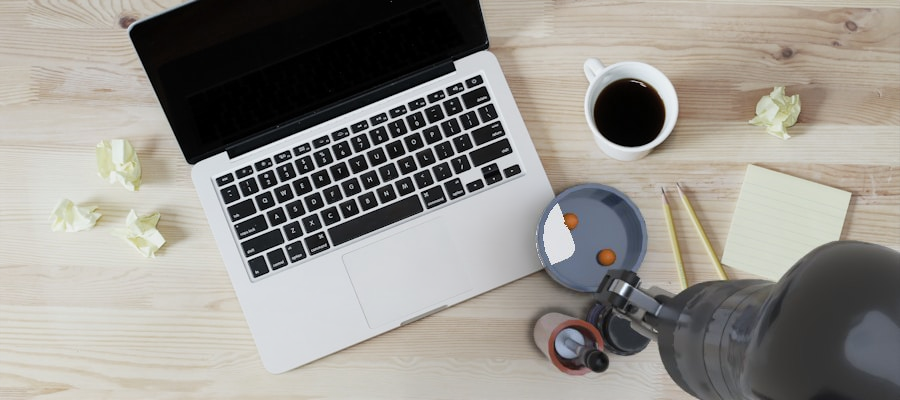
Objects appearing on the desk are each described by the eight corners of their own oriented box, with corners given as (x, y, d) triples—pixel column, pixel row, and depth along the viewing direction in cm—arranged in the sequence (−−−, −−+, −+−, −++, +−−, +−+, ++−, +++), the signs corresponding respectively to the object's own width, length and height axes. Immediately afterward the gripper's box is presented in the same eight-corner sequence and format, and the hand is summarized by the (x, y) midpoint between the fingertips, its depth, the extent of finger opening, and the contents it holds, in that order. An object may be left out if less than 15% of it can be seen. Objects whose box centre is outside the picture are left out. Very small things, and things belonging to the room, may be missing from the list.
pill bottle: (580, 342, 87) (594, 350, 76) (591, 291, 87) (607, 292, 77) (632, 355, 86) (653, 365, 75) (643, 304, 87) (666, 306, 76)
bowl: (640, 291, 87) (649, 291, 82) (535, 292, 88) (538, 292, 83) (636, 188, 89) (645, 183, 84) (533, 190, 89) (536, 184, 84)
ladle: (584, 358, 73) (621, 384, 53) (553, 358, 73) (579, 384, 53) (583, 327, 73) (620, 341, 53) (552, 327, 73) (578, 341, 54)
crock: (576, 355, 87) (604, 375, 67) (533, 355, 87) (548, 375, 67) (575, 312, 87) (602, 319, 67) (533, 312, 87) (547, 319, 68)
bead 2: (614, 266, 87) (617, 265, 85) (597, 266, 87) (600, 265, 85) (614, 249, 87) (617, 248, 85) (596, 249, 87) (599, 248, 85)
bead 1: (577, 230, 88) (579, 229, 86) (560, 230, 88) (562, 229, 86) (576, 213, 88) (579, 212, 86) (560, 213, 88) (561, 212, 86)
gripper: (598, 338, 42) (566, 325, 58) (826, 473, 41) (729, 422, 57) (662, 225, 43) (613, 243, 59) (889, 353, 41) (775, 336, 57)
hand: (670, 331), depth 58 cm, fingers open, 8 cm apart
